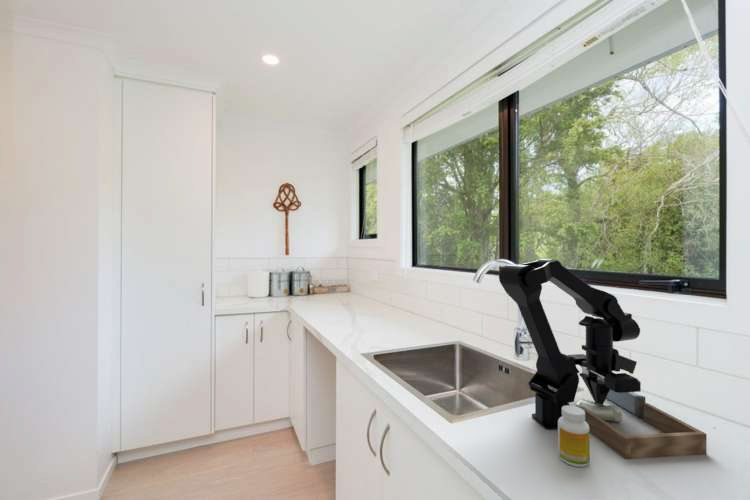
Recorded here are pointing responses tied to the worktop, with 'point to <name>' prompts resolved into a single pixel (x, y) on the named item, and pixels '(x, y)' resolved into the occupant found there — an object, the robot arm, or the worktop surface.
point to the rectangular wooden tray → (650, 435)
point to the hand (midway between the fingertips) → (599, 405)
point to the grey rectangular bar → (624, 400)
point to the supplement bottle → (573, 437)
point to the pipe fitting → (602, 410)
